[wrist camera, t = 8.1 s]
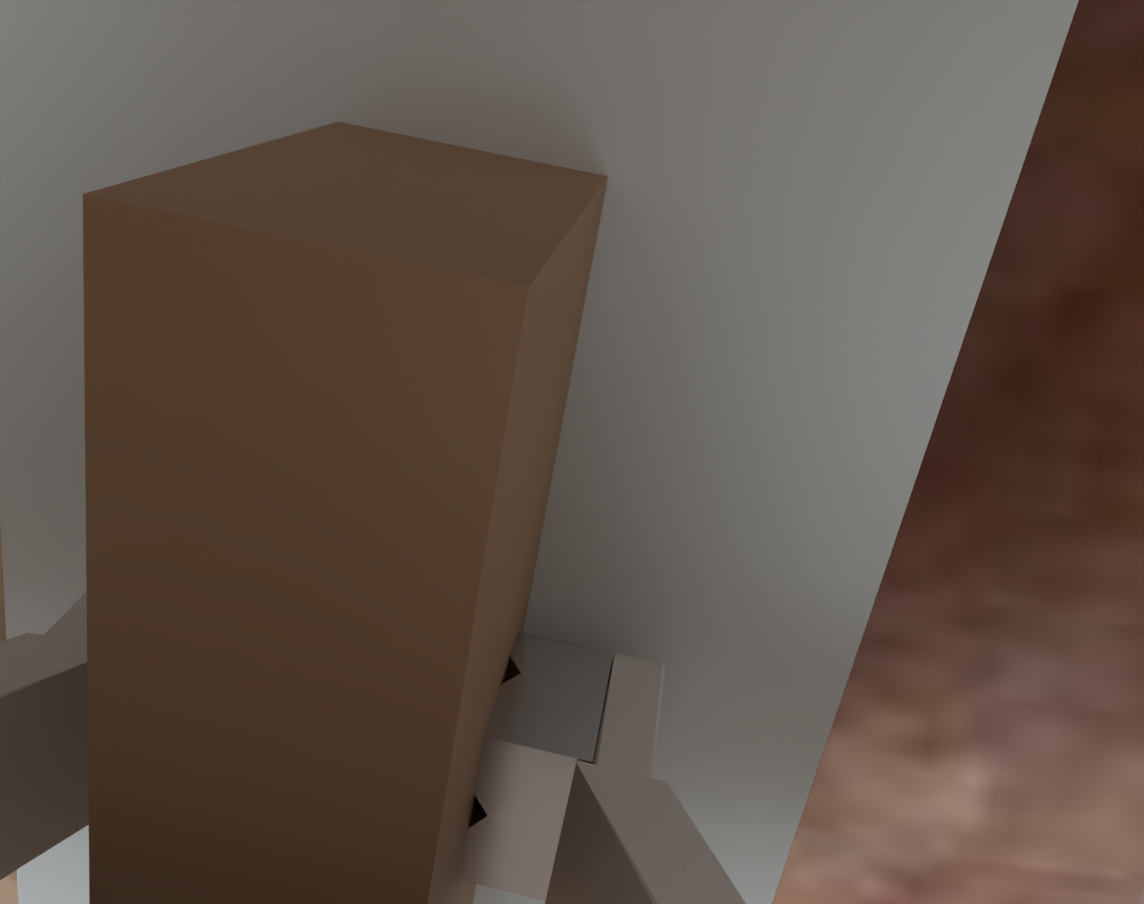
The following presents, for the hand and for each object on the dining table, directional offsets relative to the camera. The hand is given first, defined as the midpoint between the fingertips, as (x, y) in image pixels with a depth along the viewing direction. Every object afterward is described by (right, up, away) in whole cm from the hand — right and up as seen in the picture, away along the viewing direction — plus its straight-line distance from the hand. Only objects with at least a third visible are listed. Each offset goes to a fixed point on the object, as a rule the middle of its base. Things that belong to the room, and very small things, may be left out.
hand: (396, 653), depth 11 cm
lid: (0, +1, +2) cm, 3 cm away
